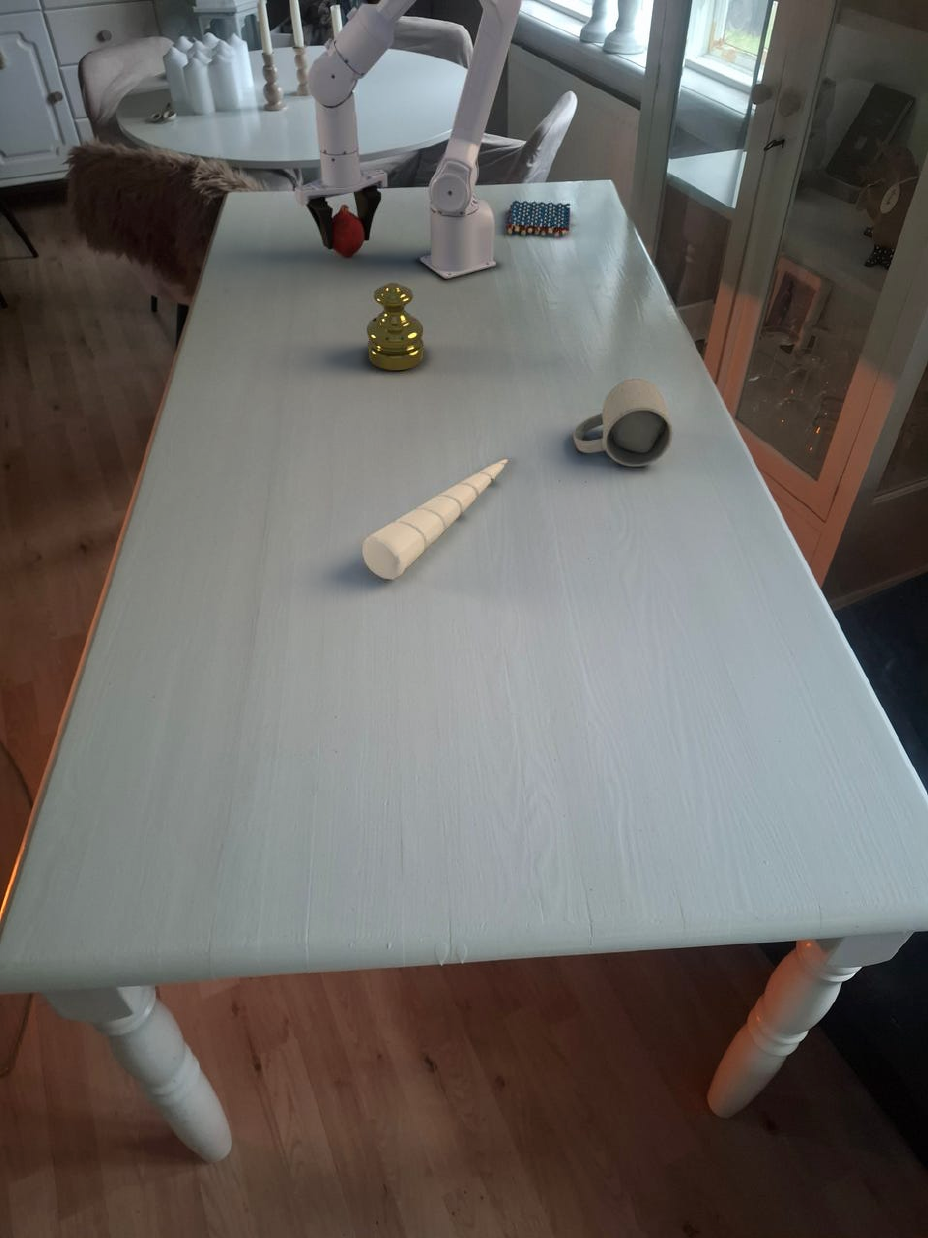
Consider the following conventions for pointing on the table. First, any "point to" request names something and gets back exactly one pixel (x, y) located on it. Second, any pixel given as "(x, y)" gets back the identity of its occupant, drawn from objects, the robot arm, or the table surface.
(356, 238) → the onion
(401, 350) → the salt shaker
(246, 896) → the table surface
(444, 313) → the table surface
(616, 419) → the ceramic mug
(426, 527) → the unicorn horn
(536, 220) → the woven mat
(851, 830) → the table surface
